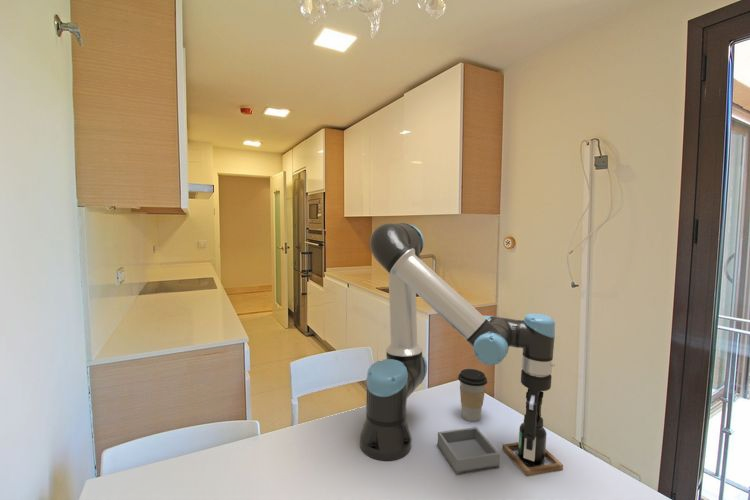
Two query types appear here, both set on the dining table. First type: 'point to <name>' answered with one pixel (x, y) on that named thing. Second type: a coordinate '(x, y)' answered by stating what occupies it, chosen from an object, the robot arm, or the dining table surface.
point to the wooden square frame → (537, 469)
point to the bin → (468, 450)
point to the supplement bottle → (540, 443)
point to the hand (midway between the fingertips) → (531, 451)
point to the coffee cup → (472, 393)
